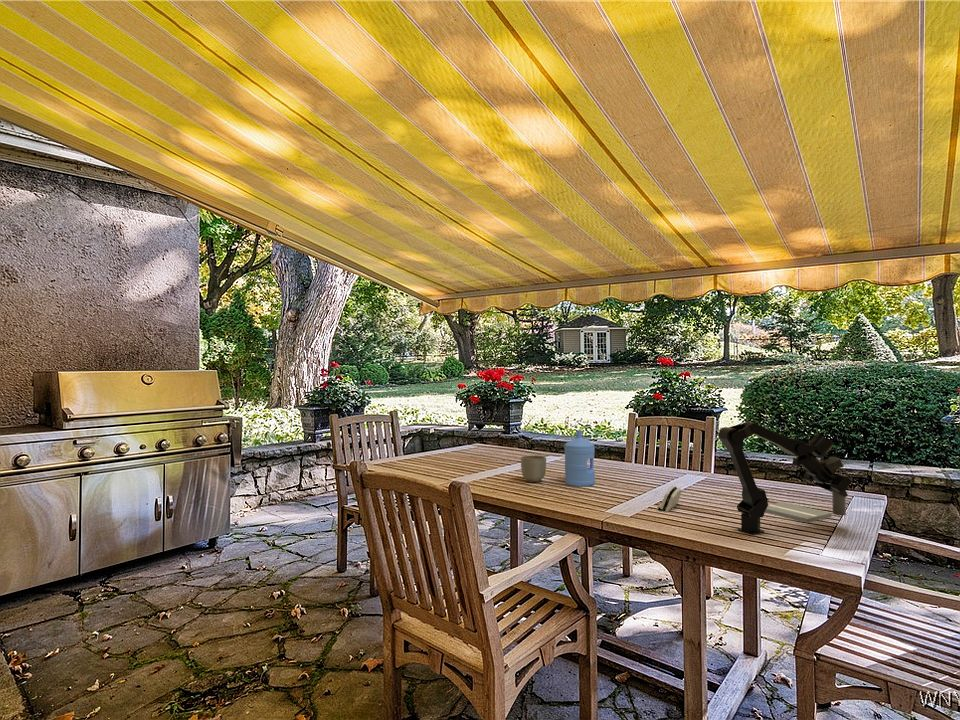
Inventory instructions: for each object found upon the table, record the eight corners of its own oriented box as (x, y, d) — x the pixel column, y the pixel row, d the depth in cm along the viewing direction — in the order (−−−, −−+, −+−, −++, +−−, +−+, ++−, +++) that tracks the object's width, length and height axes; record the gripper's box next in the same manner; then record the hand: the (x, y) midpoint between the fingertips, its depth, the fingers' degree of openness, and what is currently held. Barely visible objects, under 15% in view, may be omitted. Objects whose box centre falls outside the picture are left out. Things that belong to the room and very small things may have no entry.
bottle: (842, 516, 190) (841, 477, 190) (830, 513, 193) (829, 476, 194) (847, 514, 192) (846, 476, 193) (835, 511, 196) (834, 474, 196)
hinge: (666, 501, 235) (673, 481, 233) (676, 506, 232) (683, 486, 230) (655, 510, 221) (663, 489, 219) (666, 515, 218) (674, 494, 217)
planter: (521, 478, 288) (520, 455, 288) (546, 478, 287) (545, 455, 287) (520, 484, 274) (520, 459, 274) (547, 484, 273) (546, 459, 273)
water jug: (568, 487, 266) (567, 432, 266) (562, 480, 281) (562, 429, 282) (598, 486, 266) (597, 432, 266) (591, 480, 281) (590, 428, 282)
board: (807, 522, 200) (807, 518, 200) (758, 510, 218) (758, 506, 218) (831, 516, 208) (831, 512, 208) (782, 505, 225) (782, 501, 225)
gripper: (846, 454, 184) (877, 484, 184) (810, 446, 202) (837, 474, 203) (825, 476, 183) (856, 507, 184) (791, 466, 202) (819, 494, 202)
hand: (842, 494), depth 193 cm, fingers closed on bottle, 4 cm apart
